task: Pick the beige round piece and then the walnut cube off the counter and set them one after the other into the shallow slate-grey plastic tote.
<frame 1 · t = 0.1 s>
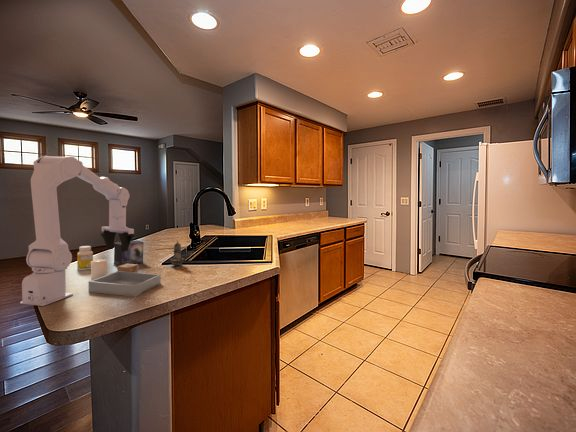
hand: (117, 250, 108), 10 cm above the countertop, fingers open, 7 cm apart
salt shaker: (177, 267, 123), on the countertop
small box: (129, 264, 124), on the countertop
beige round piece: (99, 278, 102), on the countertop
walnut cube: (128, 277, 104), on the countertop
supplement bottle: (85, 269, 114), on the countertop
tote: (126, 287, 94), on the countertop
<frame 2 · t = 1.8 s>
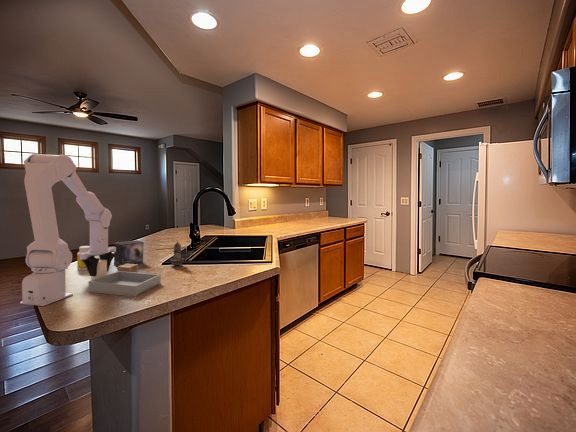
hand: (99, 273, 102), 2 cm above the countertop, fingers closed on beige round piece, 5 cm apart
beige round piece: (99, 278, 102), on the countertop, touching gripper
everything else where it was.
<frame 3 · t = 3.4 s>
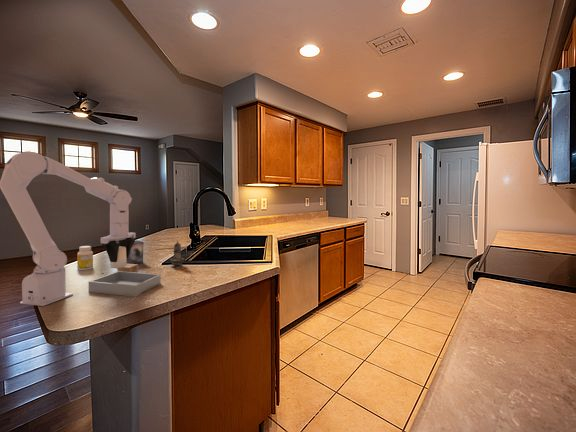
hand: (119, 259, 96), 9 cm above the countertop, fingers closed on beige round piece, 5 cm apart
beige round piece: (118, 266, 97), point 7 cm above the countertop, touching gripper
everything else where it was.
when the fingers open (4 cm above the countertop, at t = 5.5 s): beige round piece stays where it is, resting on tote.
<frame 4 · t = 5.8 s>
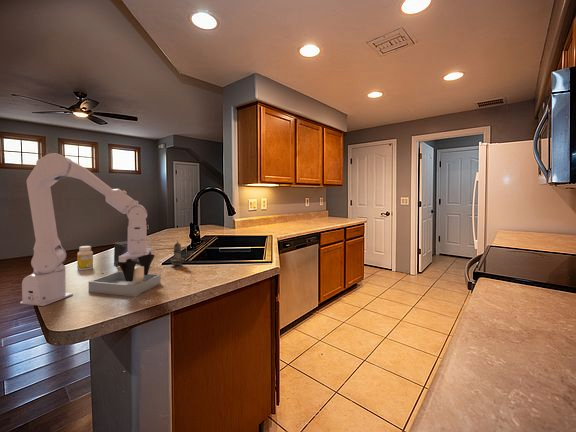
hand: (137, 277, 93), 4 cm above the countertop, fingers open, 7 cm apart
beige round piece: (135, 286, 93), point 1 cm above the countertop, touching tote
everything else where it was.
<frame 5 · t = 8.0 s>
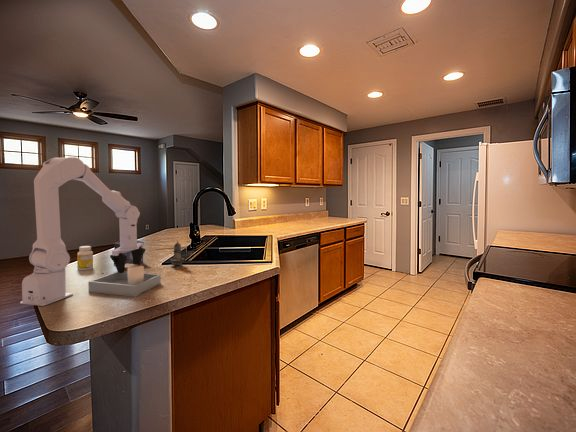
hand: (129, 269, 105), 3 cm above the countertop, fingers open, 7 cm apart
nothing on the countertop moved.
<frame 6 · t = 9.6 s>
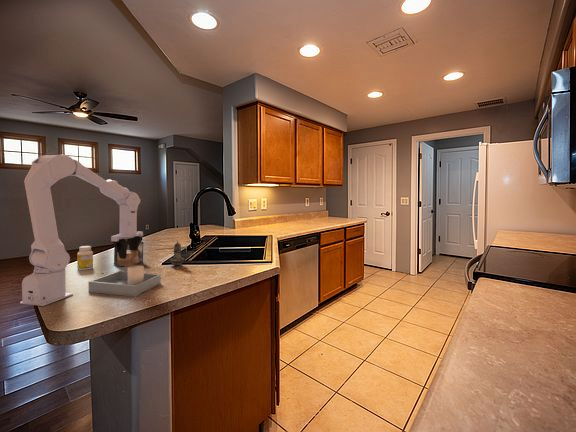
hand: (128, 256, 104), 8 cm above the countertop, fingers closed on walnut cube, 5 cm apart
walnut cube: (128, 264, 104), point 5 cm above the countertop, touching gripper
everything else where it was.
when the fingers open (3 cm above the countertop, at t = 11.8 s): walnut cube stays where it is, resting on tote.
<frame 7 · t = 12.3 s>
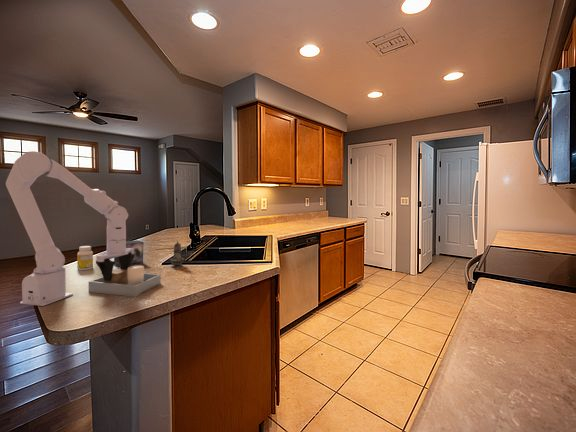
hand: (116, 277, 94), 3 cm above the countertop, fingers open, 7 cm apart
walnut cube: (116, 284, 94), point 1 cm above the countertop, touching tote
everything else where it was.
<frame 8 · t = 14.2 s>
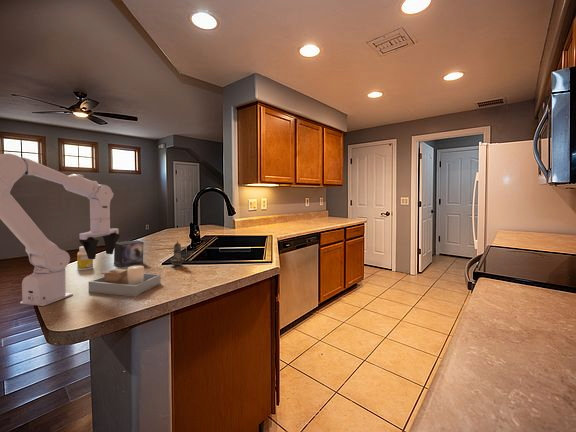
hand: (101, 256, 95), 10 cm above the countertop, fingers open, 7 cm apart
nothing on the countertop moved.
at the end: beige round piece inside the target area on the tote (3.6 cm from its centre), point 0.6 cm above the tote's base; beige round piece tilted 0°; walnut cube inside the target area on the tote (4.0 cm from its centre), point 0.6 cm above the tote's base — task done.
